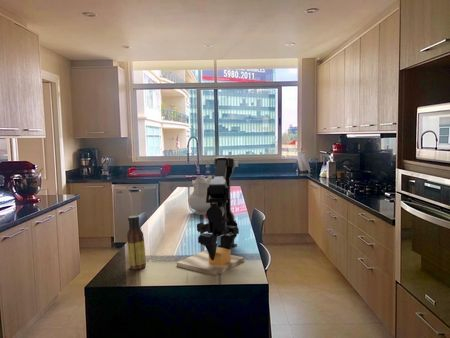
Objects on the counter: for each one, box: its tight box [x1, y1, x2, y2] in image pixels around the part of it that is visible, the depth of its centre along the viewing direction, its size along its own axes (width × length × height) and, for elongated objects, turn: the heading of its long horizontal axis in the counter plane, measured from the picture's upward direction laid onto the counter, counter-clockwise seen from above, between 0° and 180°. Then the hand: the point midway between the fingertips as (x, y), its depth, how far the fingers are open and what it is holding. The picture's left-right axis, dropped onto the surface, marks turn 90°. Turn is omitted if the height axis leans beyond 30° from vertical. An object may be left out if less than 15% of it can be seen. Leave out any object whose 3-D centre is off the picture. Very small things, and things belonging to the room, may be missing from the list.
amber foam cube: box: [209, 246, 232, 266], centre depth 139 cm, size 6×6×4 cm
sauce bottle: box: [126, 215, 147, 271], centre depth 139 cm, size 7×6×20 cm
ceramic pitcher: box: [187, 175, 213, 216], centre depth 238 cm, size 22×20×25 cm
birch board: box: [176, 249, 245, 276], centre depth 142 cm, size 18×19×5 cm
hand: (219, 256), depth 139 cm, fingers open, 9 cm apart
